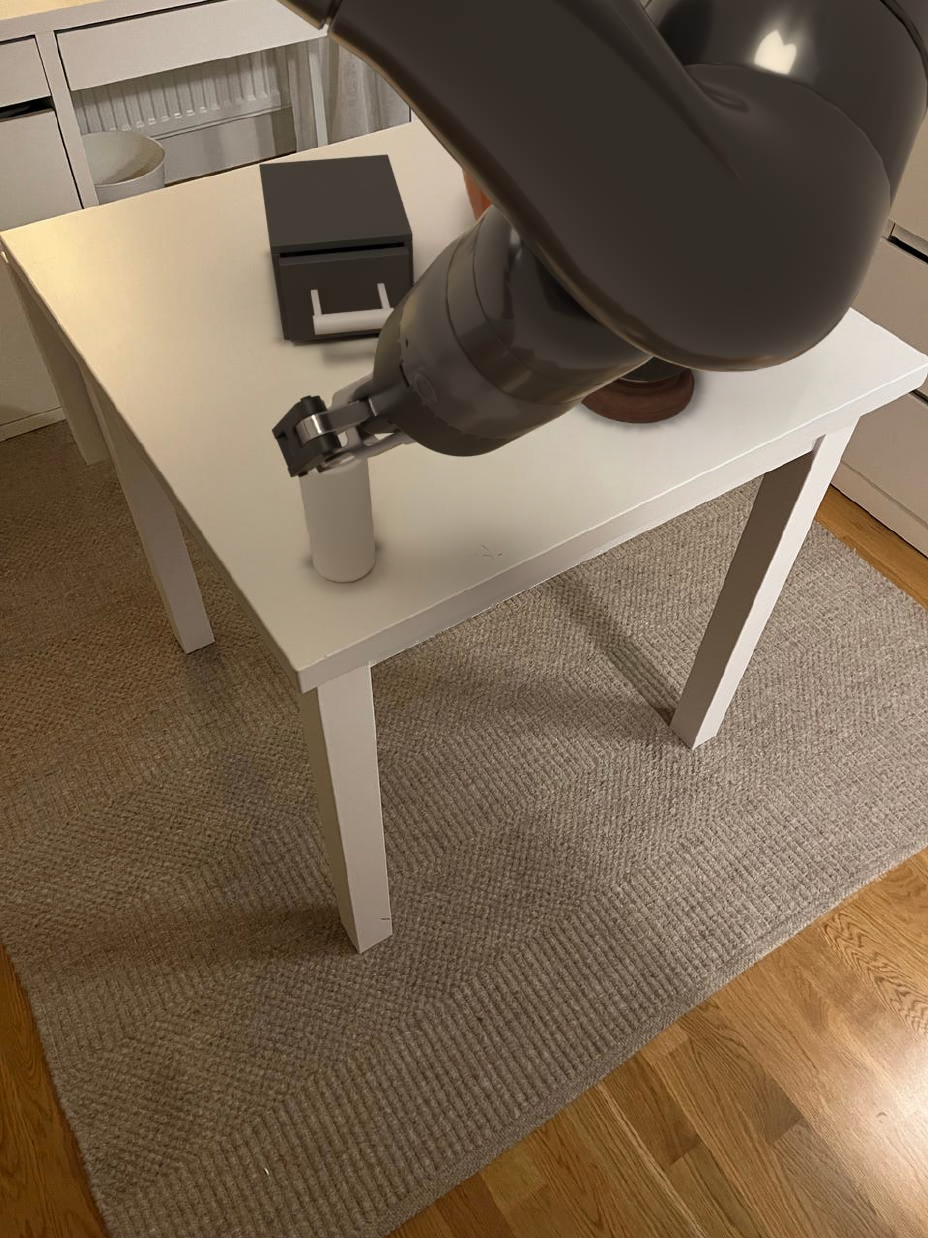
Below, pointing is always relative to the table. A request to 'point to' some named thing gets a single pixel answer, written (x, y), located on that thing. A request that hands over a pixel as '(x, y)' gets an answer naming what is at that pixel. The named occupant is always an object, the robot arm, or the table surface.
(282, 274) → the pull-out drawer
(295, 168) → the black drawer box
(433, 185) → the table surface
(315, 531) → the beverage can
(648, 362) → the black ball on stand
